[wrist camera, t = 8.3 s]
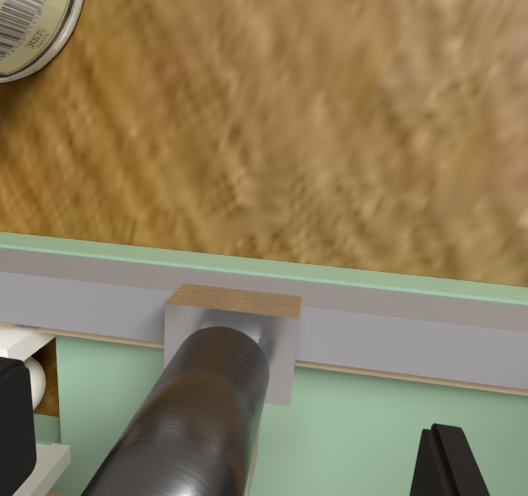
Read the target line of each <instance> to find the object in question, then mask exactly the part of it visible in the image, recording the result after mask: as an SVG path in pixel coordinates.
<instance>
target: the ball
mask: <svg viewBox="0 0 528 496" xmlns="http://www.w3.org/2000/svg"><path fill="white" fill-rule="evenodd" d="M23 362H24V364H25V367H27V368H28V369H29V370H30V377H31V390H32V402H33V410H34V409H35V408H36V407H37V406H38V405H39V403H40V402H41V400H42V398H43V395H44V393H45V388H46V377H45V373H44V370H43V368H42V366H41V365H40V364H39V362H38V361H37V360H36V359H34V358H33V357H31V356H30V357H28V358H27V359H26V360H24V361H23Z"/></svg>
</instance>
